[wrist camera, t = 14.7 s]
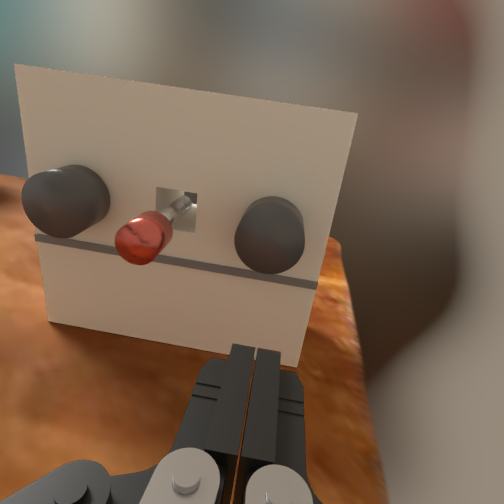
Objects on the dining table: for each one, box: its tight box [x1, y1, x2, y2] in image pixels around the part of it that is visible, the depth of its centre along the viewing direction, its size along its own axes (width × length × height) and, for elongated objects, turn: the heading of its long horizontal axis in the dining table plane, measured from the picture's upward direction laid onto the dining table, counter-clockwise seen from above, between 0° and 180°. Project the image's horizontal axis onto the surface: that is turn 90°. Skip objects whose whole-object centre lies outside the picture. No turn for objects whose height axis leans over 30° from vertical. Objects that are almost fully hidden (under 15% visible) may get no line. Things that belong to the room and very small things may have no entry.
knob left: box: [22, 165, 110, 239], centre depth 26 cm, size 10×4×4 cm, turn 173°
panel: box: [14, 64, 358, 368], centre depth 28 cm, size 22×7×20 cm, turn 83°
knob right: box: [234, 196, 305, 274], centre depth 26 cm, size 10×4×4 cm, turn 173°
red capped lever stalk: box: [115, 196, 192, 265], centre depth 22 cm, size 9×2×2 cm, turn 173°
